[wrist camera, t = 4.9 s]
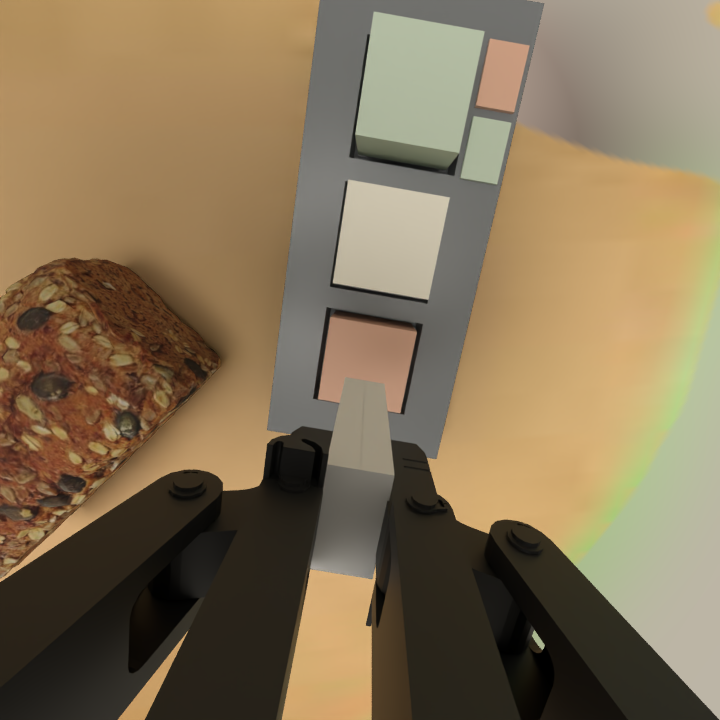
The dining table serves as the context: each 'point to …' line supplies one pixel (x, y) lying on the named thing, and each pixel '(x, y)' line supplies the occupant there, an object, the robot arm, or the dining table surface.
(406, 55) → the key sage
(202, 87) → the dining table surface
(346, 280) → the key cream
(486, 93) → the keypad board
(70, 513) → the bread
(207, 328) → the dining table surface
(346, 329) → the key terracotta
